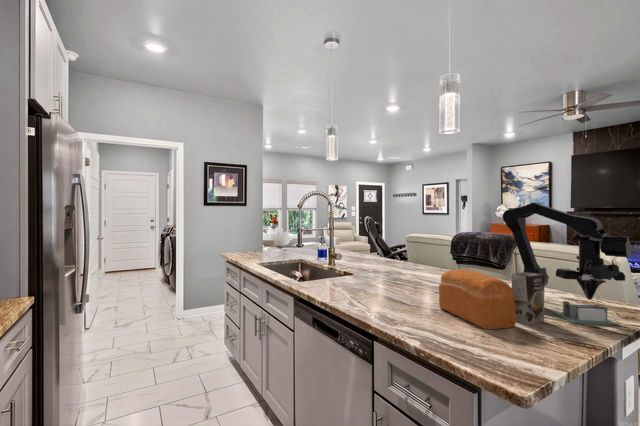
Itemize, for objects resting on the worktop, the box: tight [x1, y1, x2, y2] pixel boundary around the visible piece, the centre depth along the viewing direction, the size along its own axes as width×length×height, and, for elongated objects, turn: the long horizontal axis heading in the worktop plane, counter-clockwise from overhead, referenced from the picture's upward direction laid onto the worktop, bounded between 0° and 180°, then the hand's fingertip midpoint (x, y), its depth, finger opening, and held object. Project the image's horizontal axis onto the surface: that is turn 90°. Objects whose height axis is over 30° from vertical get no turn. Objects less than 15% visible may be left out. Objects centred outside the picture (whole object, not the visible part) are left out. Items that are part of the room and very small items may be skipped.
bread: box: [438, 268, 517, 330], centre depth 117 cm, size 14×26×16 cm, turn 13°
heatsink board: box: [554, 300, 616, 326], centre depth 114 cm, size 13×10×5 cm
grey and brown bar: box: [566, 302, 603, 309], centre depth 114 cm, size 10×2×2 cm, turn 81°
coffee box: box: [511, 271, 545, 326], centre depth 112 cm, size 9×6×16 cm
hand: (589, 299), depth 113 cm, fingers closed
